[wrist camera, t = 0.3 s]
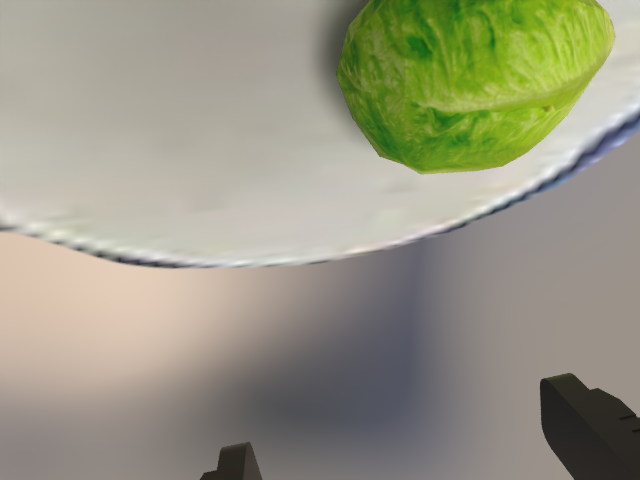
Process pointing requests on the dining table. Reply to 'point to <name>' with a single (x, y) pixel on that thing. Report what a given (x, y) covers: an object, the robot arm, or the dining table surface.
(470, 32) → the lettuce
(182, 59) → the dining table surface
